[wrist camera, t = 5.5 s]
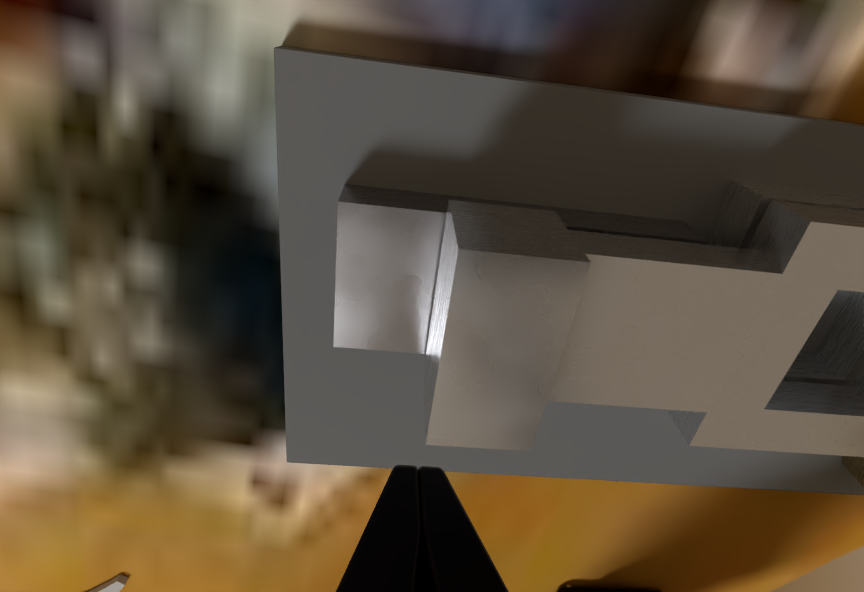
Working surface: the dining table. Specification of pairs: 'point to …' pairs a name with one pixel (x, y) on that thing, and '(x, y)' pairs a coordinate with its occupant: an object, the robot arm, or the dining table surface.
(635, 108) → the gray rectangular board
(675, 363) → the metal latch plate
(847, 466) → the brass pin
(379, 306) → the grey slotted plate
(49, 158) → the dining table surface
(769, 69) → the dining table surface
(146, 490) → the dining table surface
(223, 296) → the dining table surface
